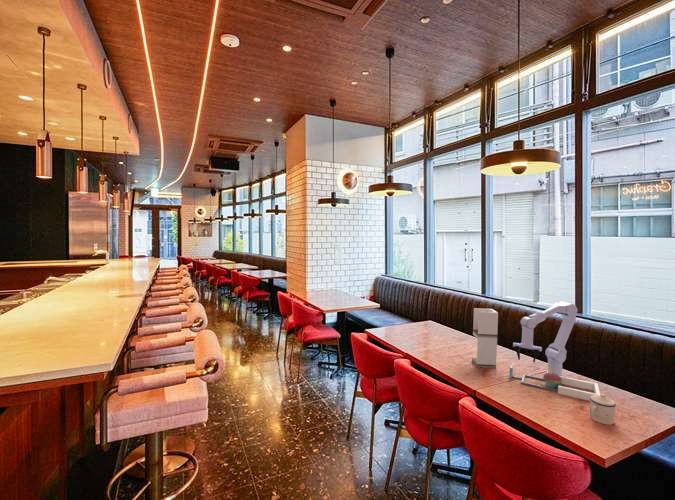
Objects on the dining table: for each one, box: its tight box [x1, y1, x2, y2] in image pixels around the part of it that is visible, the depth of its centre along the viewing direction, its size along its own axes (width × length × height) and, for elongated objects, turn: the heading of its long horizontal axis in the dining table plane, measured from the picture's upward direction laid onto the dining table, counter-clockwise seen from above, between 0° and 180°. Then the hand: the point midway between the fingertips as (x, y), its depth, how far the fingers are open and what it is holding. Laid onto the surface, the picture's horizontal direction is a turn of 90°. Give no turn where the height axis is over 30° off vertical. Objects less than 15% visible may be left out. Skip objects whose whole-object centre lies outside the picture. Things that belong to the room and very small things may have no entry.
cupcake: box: [542, 365, 562, 389], centre depth 186 cm, size 9×8×12 cm
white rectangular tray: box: [557, 375, 601, 402], centre depth 179 cm, size 17×18×4 cm
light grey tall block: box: [471, 307, 499, 369], centre depth 216 cm, size 11×11×35 cm
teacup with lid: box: [589, 393, 617, 426], centre depth 152 cm, size 12×9×12 cm
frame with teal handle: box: [509, 365, 562, 393], centre depth 190 cm, size 13×25×6 cm, turn 56°
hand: (526, 360), depth 199 cm, fingers open, 7 cm apart
